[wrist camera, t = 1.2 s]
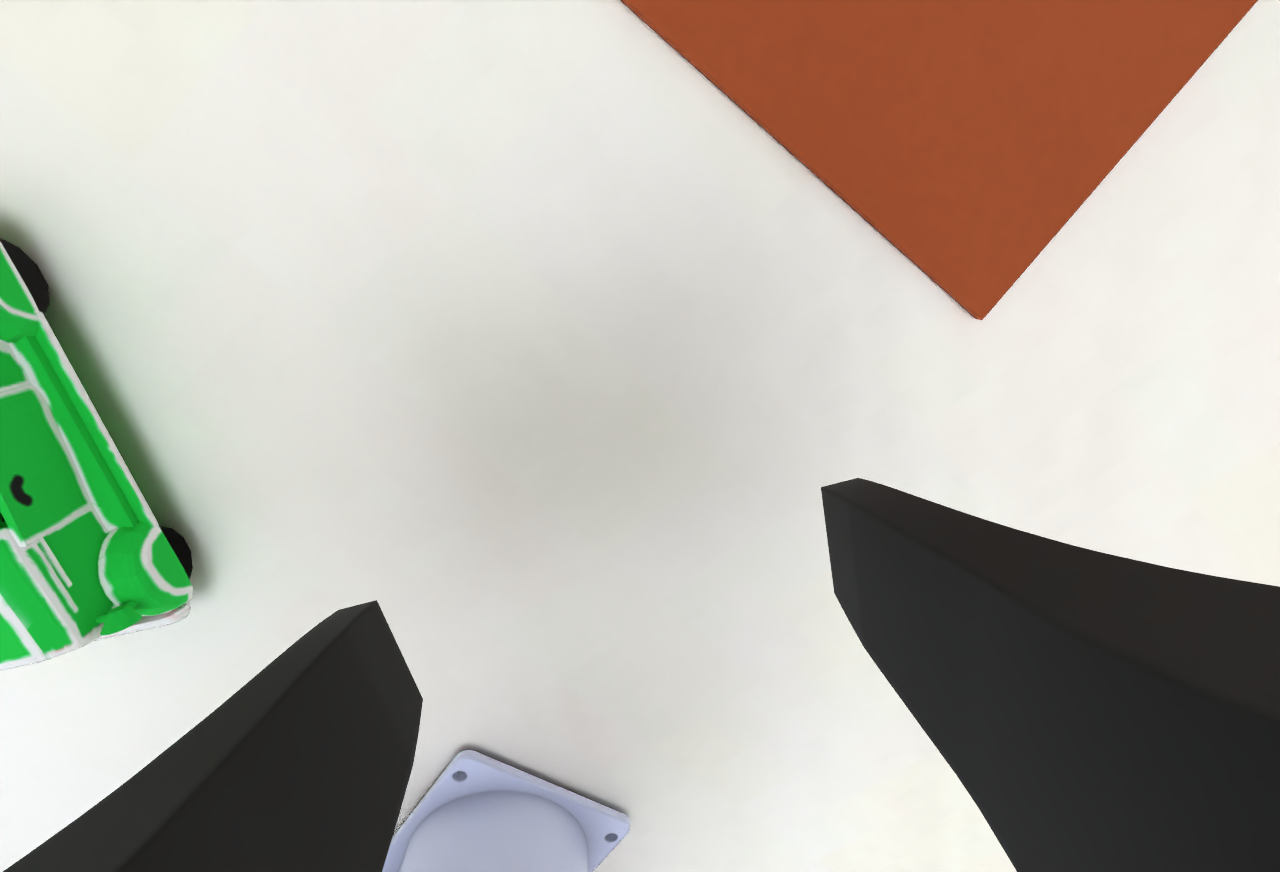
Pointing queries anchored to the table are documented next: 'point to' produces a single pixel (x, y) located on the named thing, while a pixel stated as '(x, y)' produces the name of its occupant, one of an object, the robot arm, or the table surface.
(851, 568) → the robot arm
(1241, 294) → the table surface
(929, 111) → the rust cloth
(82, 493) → the toy car
